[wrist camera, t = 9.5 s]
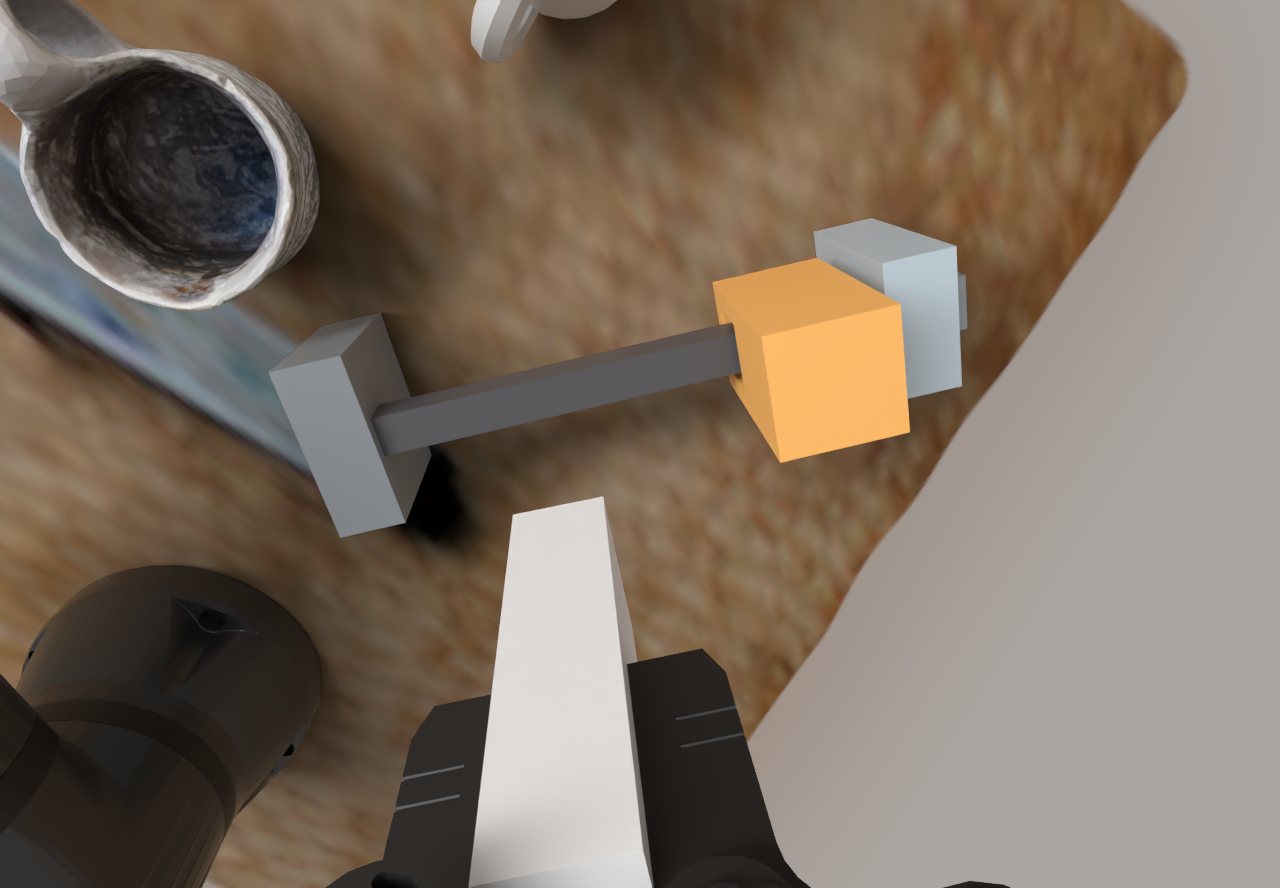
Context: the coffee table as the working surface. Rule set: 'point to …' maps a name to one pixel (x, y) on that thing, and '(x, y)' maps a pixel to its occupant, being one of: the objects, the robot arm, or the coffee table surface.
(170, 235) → the mug
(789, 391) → the orange sliding sleeve
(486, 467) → the coffee table surface
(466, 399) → the rail rig
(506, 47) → the cup
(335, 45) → the coffee table surface
